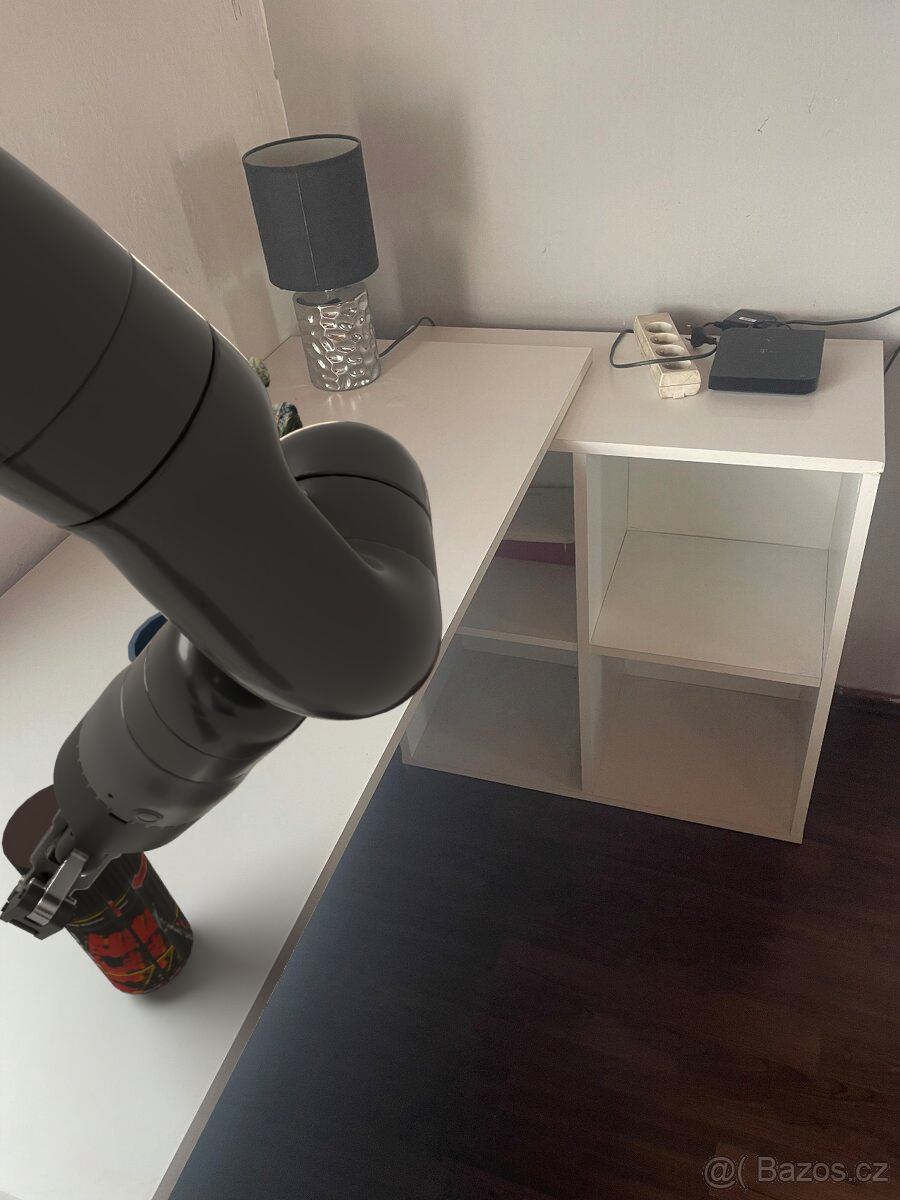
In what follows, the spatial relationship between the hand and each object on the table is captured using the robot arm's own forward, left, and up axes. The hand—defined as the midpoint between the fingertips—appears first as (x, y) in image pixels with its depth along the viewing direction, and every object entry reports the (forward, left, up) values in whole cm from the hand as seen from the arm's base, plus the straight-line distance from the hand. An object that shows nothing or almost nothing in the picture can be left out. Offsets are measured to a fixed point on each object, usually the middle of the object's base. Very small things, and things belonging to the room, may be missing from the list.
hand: (57, 855), depth 52 cm
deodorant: (0, -2, -11) cm, 12 cm away
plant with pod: (+49, +21, -13) cm, 56 cm away
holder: (+23, +12, -13) cm, 29 cm away
